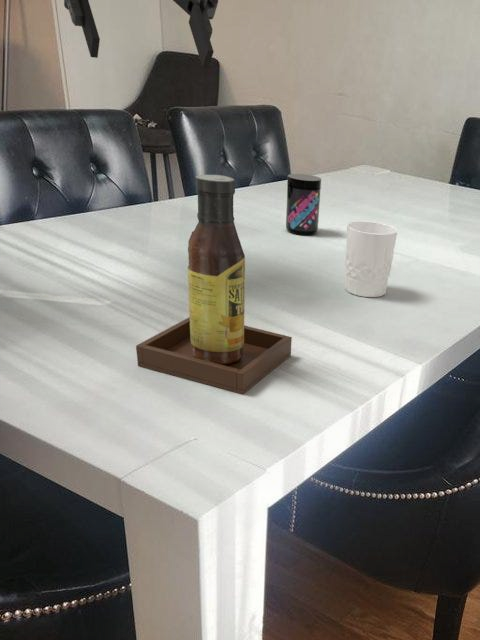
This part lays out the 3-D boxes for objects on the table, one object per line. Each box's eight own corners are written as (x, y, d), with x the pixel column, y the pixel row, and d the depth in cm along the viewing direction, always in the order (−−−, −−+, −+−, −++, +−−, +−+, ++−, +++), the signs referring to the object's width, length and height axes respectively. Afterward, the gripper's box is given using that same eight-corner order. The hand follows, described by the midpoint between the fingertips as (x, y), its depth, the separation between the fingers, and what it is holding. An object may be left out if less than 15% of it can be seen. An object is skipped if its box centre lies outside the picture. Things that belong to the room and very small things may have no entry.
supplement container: (279, 231, 133) (281, 175, 127) (295, 225, 138) (298, 172, 132) (307, 237, 131) (311, 182, 125) (323, 232, 136) (327, 178, 130)
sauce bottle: (240, 370, 75) (240, 186, 64) (185, 365, 75) (177, 179, 64) (247, 348, 81) (249, 175, 70) (197, 343, 80) (191, 169, 69)
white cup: (360, 301, 102) (367, 235, 96) (332, 285, 107) (337, 222, 101) (398, 295, 106) (407, 232, 100) (370, 281, 111) (377, 220, 105)
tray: (137, 365, 75) (135, 345, 73) (196, 331, 85) (195, 313, 83) (242, 394, 72) (243, 373, 70) (291, 355, 82) (292, 336, 80)
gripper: (-8, -160, 70) (42, 14, 69) (211, -108, 83) (258, 40, 81) (-5, -92, 77) (41, 68, 75) (197, -54, 89) (241, 85, 87)
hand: (154, 54), depth 78 cm, fingers open, 13 cm apart
